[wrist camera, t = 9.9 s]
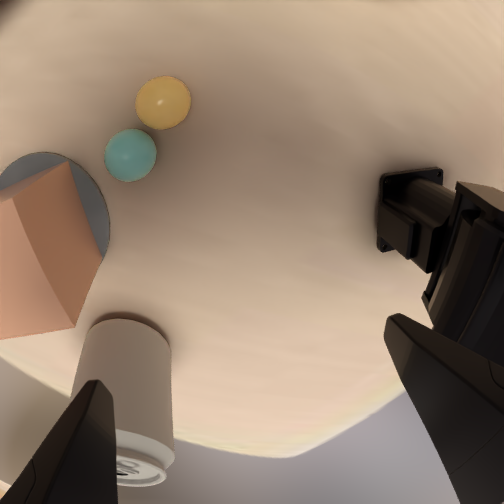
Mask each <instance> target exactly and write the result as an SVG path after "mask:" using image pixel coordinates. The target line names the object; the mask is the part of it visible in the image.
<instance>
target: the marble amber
mask: <svg viewBox="0 0 504 504" xmlns="http://www.w3.org/2000/svg"><path fill="white" fill-rule="evenodd" d="M190 105H191V96H190V93H189V90H188V88H187V87H186V86H185V84H184V83H183V82H181V81H180V80H178V79H176V78H174V77H169V76H160V77H156V78H153V79H151V80H150V81H148V82H147V83H145V84H144V85H143V86H142V88H141V89H140V90H139V92H138V94H137V97H136V102H135V108H136V113H137V115H138V117H139V119H140V120H141V121H142V122H143V123H144V124H145V125H147V126H148V127H150V128H153V129H160V130H162V129H169V128H172V127H174V126H176V125H178V124H179V123H180V122H181V121H182V120H183V119H184V118H185V117H186V115H187V114H188V112H189V109H190Z"/></svg>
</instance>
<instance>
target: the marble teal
mask: <svg viewBox="0 0 504 504" xmlns="http://www.w3.org/2000/svg"><path fill="white" fill-rule="evenodd" d="M156 155H157V152H156V146H155V143H154V141H153V140H152V138H151V137H150V136H149V135H148V134H147V133H145V132H144V131H142V130H139V129H126V130H122V131H120V132H118V133H117V134H115V135H114V136H113V137H112V138H111V139H110V140H109V142H108V144H107V146H106V148H105V152H104V162H105V165H106V168H107V170H108V171H109V173H110V174H111V175H112V176H113V177H115V178H116V179H118V180H120V181H124V182H133V181H137V180H140V179H142V178H143V177H145V176H146V175H147V174H148V173H149V172H150V171H151V170H152V168H153V166H154V164H155V161H156Z"/></svg>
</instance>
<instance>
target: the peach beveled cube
mask: <svg viewBox="0 0 504 504" xmlns="http://www.w3.org/2000/svg"><path fill="white" fill-rule="evenodd" d="M101 261H102V255H101V253H100V250H99V248H98V246H97V243H96V241H95V238H94V235H93V233H92V230H91V228H90V225H89V222H88V220H87V217H86V214H85V211H84V208H83V206H82V203H81V200H80V197H79V194H78V191H77V188H76V185H75V182H74V178H73V175H72V172H71V168H70V165H69V162H68V161H66V162H63V163H61V164H58V165H56V166H53V167H51V168H48V169H46V170H44V171H41V172H39V173H37V174H34V175H32V176H30V177H28V178H26V179H23V180H21V181H19V182H17V183H15V184H13V185H11V186H9V187H7V188H5V189H3V190H1V191H0V340H2V339H8V338H15V337H21V336H28V335H34V334H40V333H46V332H52V331H58V330H64V329H69V328H75V325H76V323H77V320H78V317H79V314H80V312H81V309H82V306H83V304H84V301H85V299H86V296H87V294H88V291H89V289H90V286H91V284H92V281H93V279H94V277H95V274H96V272H97V270H98V267H99V265H100V263H101Z"/></svg>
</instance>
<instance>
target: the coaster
mask: <svg viewBox="0 0 504 504" xmlns="http://www.w3.org/2000/svg"><path fill="white" fill-rule="evenodd" d="M66 161H68V162H69V165H70V168H71V172H72V175H73V178H74V182H75V185H76V188H77V191H78V194H79V197H80V200H81V203H82V206H83V208H84V211H85V214H86V217H87V220H88V222H89V225H90V228H91V230H92V233H93V235H94V238H95V241H96V243H97V246H98V248H99V250H100V253H101V255H102V260H103V258H104V256H105V253H106V251H107V247H108V243H109V236H110V222H109V215H108V210H107V207H106V203H105V201H104V198H103V196H102V194H101V192H100V190H99V188H98V186H97V185H96V183H95V182H94V181H93V179H92V178H91V177H90V176H89V174H88V173H87V172H86V171H85V170H84V169H83V168H81V167H80V166H79V165H78V164H76V163H75V162H73V161H72V160H70V159H68V158H66V157H64V156H61V155H58V154H55V153H48V152H38V153H33V154H29V155H26V156H24V157H21V158H19V159H18V160H16V161H14V162H13V163H12V164H11V165H9V166H8V167H7V168H6V169H5V171H4V172H3V173H2V174H1V176H0V191H1V190H3V189H5V188H7V187H9V186H11V185H13V184H15V183H17V182H19V181H21V180H23V179H26V178H28V177H30V176H32V175H34V174H37V173H39V172H41V171H44V170H46V169H48V168H51V167H53V166H56V165H58V164H61V163H63V162H66ZM101 262H102V261H101ZM100 264H101V263H100ZM99 266H100V265H99Z"/></svg>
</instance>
